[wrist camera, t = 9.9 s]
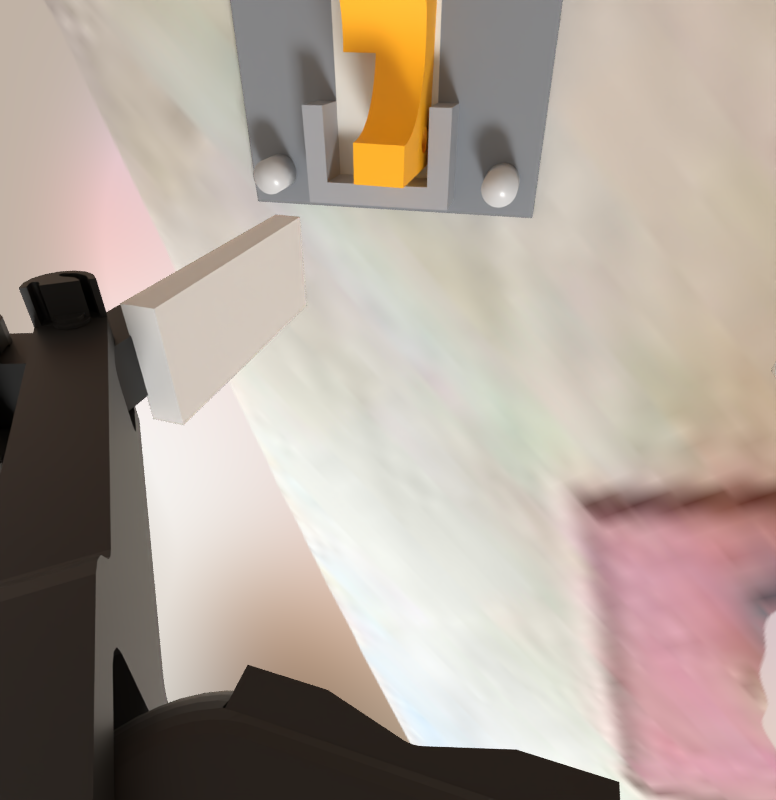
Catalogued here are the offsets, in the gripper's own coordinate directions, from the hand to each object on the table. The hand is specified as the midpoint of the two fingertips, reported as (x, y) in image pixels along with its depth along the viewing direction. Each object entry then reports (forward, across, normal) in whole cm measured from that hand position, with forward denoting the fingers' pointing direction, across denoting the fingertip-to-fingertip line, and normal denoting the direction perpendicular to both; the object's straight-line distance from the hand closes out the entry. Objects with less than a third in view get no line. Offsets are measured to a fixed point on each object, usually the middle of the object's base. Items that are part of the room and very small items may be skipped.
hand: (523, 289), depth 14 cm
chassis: (+20, +10, -6) cm, 23 cm away
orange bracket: (+20, +9, -5) cm, 22 cm away
